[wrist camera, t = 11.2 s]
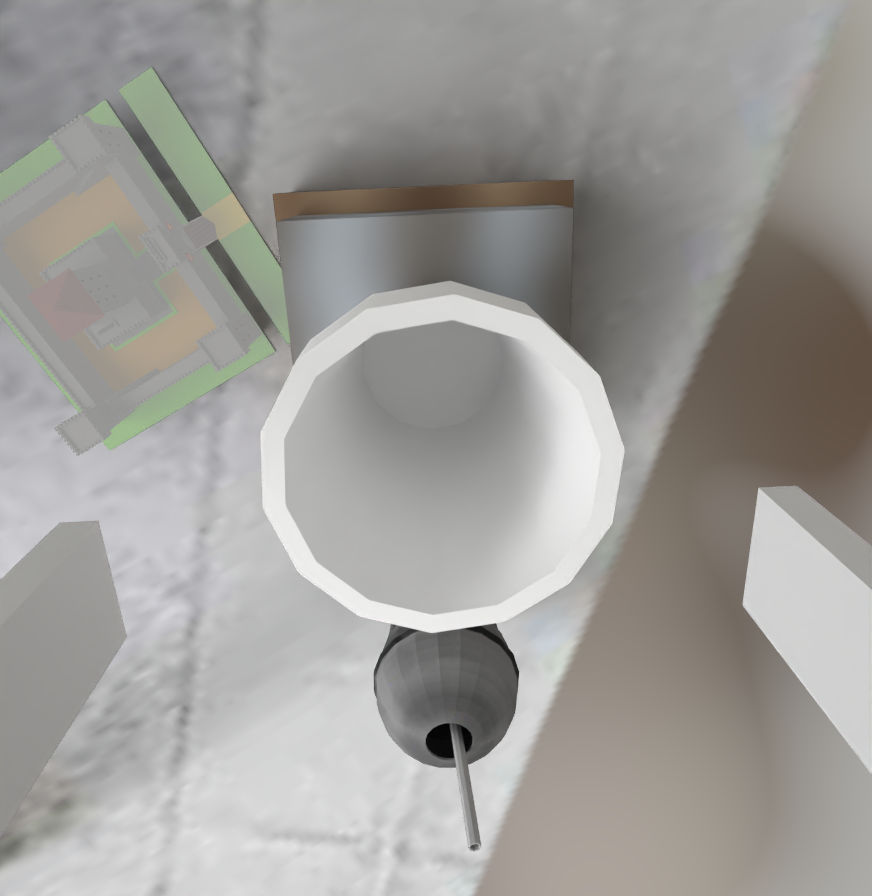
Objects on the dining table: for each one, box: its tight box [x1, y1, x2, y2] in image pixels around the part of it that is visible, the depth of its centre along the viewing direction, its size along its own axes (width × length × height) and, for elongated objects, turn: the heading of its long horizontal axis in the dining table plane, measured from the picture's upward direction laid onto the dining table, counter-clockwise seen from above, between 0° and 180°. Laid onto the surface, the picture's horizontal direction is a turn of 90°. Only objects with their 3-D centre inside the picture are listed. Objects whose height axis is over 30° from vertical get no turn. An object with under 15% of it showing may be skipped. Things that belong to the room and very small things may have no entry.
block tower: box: [273, 180, 574, 366], centre depth 35 cm, size 14×14×10 cm
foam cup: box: [260, 281, 625, 633], centre depth 24 cm, size 10×9×13 cm
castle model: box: [0, 67, 290, 456], centre depth 35 cm, size 15×15×8 cm
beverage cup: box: [374, 623, 519, 851], centre depth 36 cm, size 7×7×20 cm
